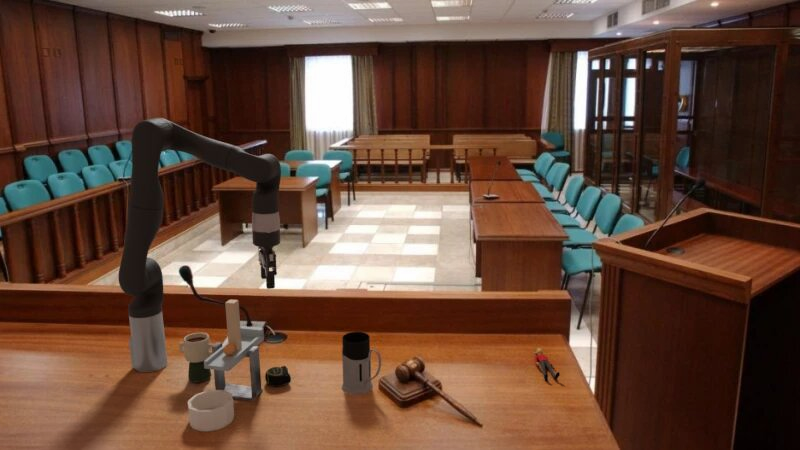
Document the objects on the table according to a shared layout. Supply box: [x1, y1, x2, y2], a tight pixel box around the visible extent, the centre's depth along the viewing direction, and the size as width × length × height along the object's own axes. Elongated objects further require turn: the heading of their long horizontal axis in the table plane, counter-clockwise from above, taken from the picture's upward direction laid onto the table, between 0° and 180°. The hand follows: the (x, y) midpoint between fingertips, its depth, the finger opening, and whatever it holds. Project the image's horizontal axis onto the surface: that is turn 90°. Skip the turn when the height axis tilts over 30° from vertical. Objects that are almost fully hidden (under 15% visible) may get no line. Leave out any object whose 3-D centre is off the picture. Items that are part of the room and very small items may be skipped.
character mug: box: [178, 332, 215, 383], centre depth 182 cm, size 11×7×13 cm, turn 82°
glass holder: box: [341, 331, 382, 395], centre depth 175 cm, size 9×14×15 cm, turn 44°
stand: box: [211, 341, 264, 402], centre depth 173 cm, size 12×6×14 cm, turn 76°
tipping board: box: [204, 298, 265, 372], centre depth 170 cm, size 9×20×16 cm, turn 166°
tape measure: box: [264, 365, 292, 387], centre depth 181 cm, size 7×7×4 cm
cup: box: [187, 389, 235, 433], centre depth 161 cm, size 11×11×6 cm
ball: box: [223, 344, 235, 356], centre depth 169 cm, size 3×3×3 cm
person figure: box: [534, 347, 561, 382], centre depth 189 cm, size 5×4×18 cm
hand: (267, 283), depth 178 cm, fingers open, 8 cm apart
